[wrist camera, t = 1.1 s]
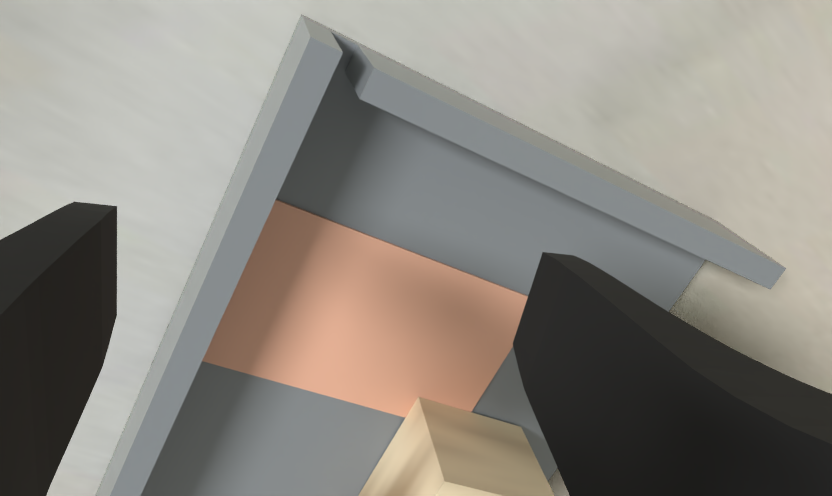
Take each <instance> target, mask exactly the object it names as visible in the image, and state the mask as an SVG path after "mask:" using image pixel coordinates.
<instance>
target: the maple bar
mask: <svg viewBox="0 0 832 496" xmlns="http://www.w3.org/2000/svg"><path fill="white" fill-rule="evenodd" d="M358 496H554V494H553V491H552V489H551V487H550V485H549V483H548V481H547V479H546V477H545V475H544V473H543V471H542V469H541V467H540V465H539V463H538V461H537V459H536V457H535V455H534V452H533V450H532V448H531V446H530V444H529V442H528V440H527V438H526V436H525V434H524V432H523V430H522V428H521V427H520V426H516V425H513V424H510V423H506V422H503V421H499V420H496V419H492V418H489V417H486V416H482V415H479V414H475V413H472V412H469V411H465V410H462V409H458V408H455V407H452V406H448V405H445V404H441V403H438V402H435V401H431V400H428V399H424V398H421V397H418V398H417V400H416V401H415V403H414V405H413V406H412V408H411V410H410V411H409V413H408V415H407V416H406V418H405V419H404V421H403V423H402V424H401V426H400V428H399V429H398V431H397V433H396V434H395V436H394V438H393V439H392V441H391V442H390V444H389V446H388V447H387V449H386V451H385V452H384V454H383V456H382V457H381V459H380V461H379V462H378V464H377V466H376V467H375V469H374V470H373V472H372V474H371V475H370V477H369V479H368V480H367V482H366V484H365V485H364V487H363V489H362V490H361V492H360V493H359V495H358Z"/></svg>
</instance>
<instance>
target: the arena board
mask: <svg viewBox="0 0 832 496" xmlns="http://www.w3.org/2000/svg"><path fill="white" fill-rule="evenodd" d="M543 252H547V253H557V254H566V255H574V256H576V257H579V258H581V259H583V260H585V261H587V262H589V263H591V264H593V265H594V266H596V267H598V268H599V269H601V270H603V271H605V272H606V273H608V274H609V275H611V276H613V277H614V278H616V279H617V280H619V281H621V282H622V283H624V284H625V285H627V286H629V287H630V288H632V289H633V290H635V291H636V292H638V293H639V294H641V295H643V296H644V297H646V298H647V299H649V300H650V301H652V302H654V303H655V304H657V305H658V306H660V307H662V308H663V309H665V310H666V311H668V312H669V311H670V309H671V308H672V306H673V305H674V303H675V302H676V301H677V299H678V298H679V296H680V295H681V294H682V292H683V291H684V289H685V288H686V287H687V285H688V284H689V282H690V281H691V280H692V278H693V277H694V275H695V274H696V273H697V271H698V270H699V268H700V267H701V266H702V264H703V263H704V261H705V260H708V261H710V262H712V263H714V264H717V265H719V266H721V267H723V268H725V269H727V270H730V271H732V272H734V273H736V274H738V275H740V276H742V277H745V278H747V279H749V280H751V281H753V282H755V283H758V284H760V285H762V286H764V287H766V288H768V289H771V288H772V287H773V285H774V284H775V283H776V281H777V280H778V279H779V277H780V276H781V275H782V273H783V272H784V271H785V269H786V268H785V267H783V266H782V265H780V264H779V263H778V262H776V261H775V260H773V259H772V258H770V257H769V256H767V255H766V254H764V253H763V252H761V251H760V250H759V249H757V248H756V247H754V246H753V245H751V244H750V243H748V242H747V241H745V240H744V239H742V238H741V237H739V236H738V235H737V234H735V233H734V232H732V231H731V230H729V229H728V228H726V227H725V226H723V225H722V224H720V223H719V222H718V221H716V220H714V219H712V218H710V217H707V216H705V215H703V214H701V213H699V212H697V211H695V210H693V209H691V208H689V207H687V206H685V205H683V204H681V203H679V202H677V201H675V200H673V199H671V198H669V197H667V196H665V195H663V194H661V193H659V192H657V191H655V190H653V189H651V188H649V187H647V186H645V185H643V184H641V183H639V182H637V181H635V180H633V179H631V178H629V177H627V176H625V175H623V174H621V173H619V172H617V171H615V170H613V169H611V168H609V167H607V166H605V165H603V164H601V163H599V162H597V161H595V160H593V159H591V158H589V157H587V156H585V155H583V154H581V153H579V152H577V151H575V150H573V149H571V148H569V147H567V146H565V145H563V144H561V143H559V142H557V141H555V140H553V139H551V138H549V137H547V136H545V135H543V134H541V133H539V132H537V131H535V130H533V129H531V128H529V127H527V126H525V125H523V124H521V123H519V122H517V121H515V120H513V119H511V118H509V117H507V116H505V115H503V114H501V113H499V112H497V111H494V110H492V109H490V108H488V107H486V106H484V105H482V104H480V103H478V102H476V101H474V100H472V99H470V98H468V97H466V96H464V95H462V94H460V93H458V92H456V91H454V90H452V89H450V88H448V87H446V86H444V85H442V84H440V83H438V82H436V81H434V80H432V79H430V78H428V77H426V76H424V75H422V74H420V73H418V72H416V71H414V70H412V69H410V68H408V67H406V66H404V65H402V64H400V63H398V62H396V61H394V60H392V59H390V58H388V57H386V56H384V55H382V54H380V53H378V52H376V51H374V50H372V49H370V48H368V47H366V46H364V45H362V44H360V43H358V42H356V41H354V40H352V39H350V38H348V37H346V36H344V35H342V34H340V33H338V32H336V31H334V30H332V29H330V28H328V27H326V26H324V25H322V24H320V23H318V22H316V21H314V20H312V19H310V18H308V17H306V16H304V15H301V17H300V19H299V22H298V24H297V26H296V29H295V31H294V33H293V36H292V38H291V40H290V43H289V45H288V47H287V50H286V52H285V54H284V57H283V59H282V61H281V64H280V66H279V69H278V71H277V73H276V76H275V78H274V80H273V83H272V85H271V87H270V90H269V92H268V94H267V97H266V99H265V101H264V104H263V106H262V108H261V111H260V113H259V115H258V118H257V120H256V122H255V125H254V127H253V129H252V132H251V134H250V136H249V139H248V141H247V143H246V146H245V148H244V150H243V153H242V155H241V157H240V160H239V162H238V164H237V167H236V169H235V171H234V174H233V176H232V178H231V181H230V183H229V185H228V188H227V190H226V192H225V195H224V197H223V199H222V202H221V204H220V206H219V209H218V211H217V213H216V216H215V218H214V220H213V223H212V225H211V227H210V230H209V232H208V234H207V237H206V239H205V241H204V244H203V246H202V248H201V251H200V253H199V255H198V258H197V260H196V262H195V265H194V267H193V269H192V272H191V274H190V276H189V279H188V281H187V283H186V286H185V288H184V290H183V293H182V295H181V297H180V300H179V302H178V304H177V307H176V309H175V311H174V314H173V316H172V318H171V321H170V323H169V325H168V328H167V330H166V332H165V335H164V337H163V339H162V342H161V344H160V346H159V349H158V351H157V353H156V356H155V358H154V360H153V363H152V365H151V367H150V370H149V372H148V374H147V377H146V379H145V381H144V384H143V386H142V388H141V391H140V393H139V395H138V398H137V400H136V402H135V405H134V407H133V409H132V412H131V414H130V416H129V419H128V421H127V424H126V426H125V428H124V431H123V433H122V435H121V438H120V440H119V442H118V445H117V447H116V449H115V452H114V454H113V456H112V459H111V461H110V463H109V466H108V468H107V470H106V473H105V475H104V477H103V480H102V482H101V484H100V487H99V489H98V491H97V494H96V496H358V495H359V493H360V492H361V490H362V489H363V487H364V485H365V484H366V482H367V480H368V479H369V477H370V475H371V474H372V472H373V470H374V469H375V467H376V466H377V464H378V462H379V461H380V459H381V457H382V456H383V454H384V452H385V451H386V449H387V447H388V446H389V444H390V442H391V441H392V439H393V438H394V436H395V434H396V433H397V431H398V429H399V428H400V426H401V424H402V423H403V421H404V419H405V418H406V416H407V415H408V413H409V411H410V410H411V408H412V406H413V405H414V403H415V401H416V400H417V398H418V397H421V398H424V399H428V400H431V401H435V402H438V403H441V404H445V405H448V406H452V407H455V408H458V409H462V410H465V411H469V412H472V413H475V414H479V415H482V416H486V417H489V418H492V419H496V420H499V421H503V422H506V423H510V424H513V425H516V426H520V427H521V428H522V430H523V432H524V434H525V436H526V438H527V440H528V442H529V444H530V446H531V448H532V450H533V452H534V455H535V457H536V459H537V461H538V463H539V465H540V467H541V469H542V471H543V473H544V475H545V477H546V479H547V481H549V479H550V478H551V476H552V475H553V474H554V472H555V471H556V469H557V468H558V467H557V465H556V463H555V460H554V458H553V456H552V453H551V451H550V449H549V447H548V444H547V442H546V440H545V437H544V435H543V433H542V431H541V428H540V426H539V424H538V421H537V419H536V417H535V414H534V412H533V409H532V407H531V405H530V402H529V400H528V397H527V395H526V392H525V390H524V387H523V383H522V379H521V376H520V372H519V369H518V364H517V360H516V356H515V352H514V347H513V341H514V338H515V335H516V332H517V329H518V326H519V323H520V319H521V316H522V313H523V310H524V307H525V304H526V301H527V298H528V295H529V292H530V289H531V286H532V283H533V280H534V277H535V274H536V271H537V268H538V265H539V262H540V259H541V256H542V253H543Z"/></svg>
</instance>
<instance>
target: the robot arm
mask: <svg viewBox="0 0 832 496" xmlns="http://www.w3.org/2000/svg"><path fill="white" fill-rule="evenodd" d="M116 316H117V206H108V205H99V204H90V203H80V202H73V203H71V204H68V205H66V206H64V207H62V208H60V209H58V210H56V211H54V212H52V213H50V214H48V215H46V216H45V217H43V218H41V219H39V220H37V221H35V222H34V223H32V224H30V225H28V226H26V227H24V228H22V229H20V230H19V231H17V232H15V233H13V234H11V235H9V236H7V237H5V238H3V239H1V240H0V496H46V495H47V492H48V489H49V487H50V484H51V482H52V480H53V478H54V475H55V473H56V471H57V469H58V466H59V464H60V462H61V460H62V457H63V455H64V453H65V451H66V448H67V446H68V444H69V442H70V439H71V437H72V435H73V433H74V430H75V428H76V426H77V424H78V421H79V419H80V417H81V415H82V413H83V410H84V408H85V406H86V403H87V401H88V399H89V397H90V394H91V392H92V390H93V387H94V385H95V383H96V381H97V378H98V376H99V374H100V371H101V369H102V366H103V363H104V359H105V356H106V352H107V349H108V346H109V342H110V338H111V334H112V331H113V327H114V323H115V319H116ZM513 347H514V352H515V356H516V360H517V364H518V369H519V372H520V376H521V379H522V383H523V387H524V390H525V392H526V395H527V397H528V400H529V402H530V405H531V407H532V409H533V412H534V414H535V417H536V419H537V421H538V424H539V426H540V428H541V431H542V433H543V435H544V437H545V440H546V442H547V444H548V447H549V449H550V451H551V453H552V456H553V458H554V460H555V463H556V465H557V467H558V469H559V472H560V474H561V476H562V479H563V481H564V483H565V485H566V488H567V490H568V492H569V495H570V496H832V394H830V393H827V392H825V391H822V390H820V389H817V388H815V387H812V386H810V385H808V384H805V383H803V382H800V381H798V380H796V379H794V378H791V377H789V376H787V375H785V374H782V373H780V372H778V371H776V370H774V369H772V368H770V367H768V366H766V365H764V364H762V363H760V362H758V361H756V360H754V359H752V358H749V357H747V356H745V355H743V354H741V353H739V352H737V351H736V350H734V349H732V348H730V347H728V346H726V345H724V344H722V343H721V342H719V341H717V340H715V339H714V338H712V337H710V336H708V335H707V334H705V333H703V332H701V331H700V330H698V329H696V328H694V327H693V326H691V325H689V324H688V323H686V322H684V321H683V320H681V319H679V318H678V317H676V316H674V315H673V314H671V313H670V312H668V311H666V310H665V309H663V308H662V307H660V306H658V305H657V304H655V303H654V302H652V301H650V300H649V299H647V298H646V297H644V296H643V295H641V294H639V293H638V292H636V291H635V290H633V289H632V288H630V287H629V286H627V285H625V284H624V283H622V282H621V281H619V280H617V279H616V278H614V277H613V276H611V275H609V274H608V273H606V272H605V271H603V270H601V269H599V268H598V267H596V266H594V265H593V264H591V263H589V262H587V261H585V260H583V259H581V258H579V257H576V256H574V255H566V254H557V253H547V252H543V253H542V256H541V259H540V262H539V265H538V268H537V271H536V274H535V277H534V280H533V283H532V286H531V289H530V292H529V295H528V298H527V301H526V304H525V307H524V310H523V313H522V316H521V319H520V323H519V326H518V329H517V332H516V335H515V338H514V341H513Z"/></svg>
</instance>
